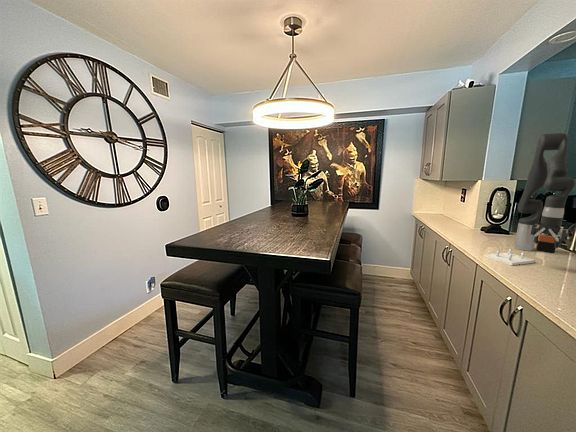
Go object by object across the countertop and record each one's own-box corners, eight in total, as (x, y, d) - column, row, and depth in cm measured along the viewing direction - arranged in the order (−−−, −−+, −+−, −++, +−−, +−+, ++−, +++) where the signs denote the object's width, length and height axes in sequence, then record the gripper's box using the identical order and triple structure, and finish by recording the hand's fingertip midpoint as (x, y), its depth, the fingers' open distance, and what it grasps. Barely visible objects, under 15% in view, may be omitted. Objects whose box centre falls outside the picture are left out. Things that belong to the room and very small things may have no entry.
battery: (554, 253, 126) (558, 235, 124) (536, 250, 131) (539, 233, 129) (553, 251, 129) (557, 233, 127) (535, 249, 134) (539, 231, 132)
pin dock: (507, 254, 150) (508, 246, 149) (534, 262, 137) (536, 254, 136) (485, 257, 146) (486, 249, 145) (511, 265, 132) (513, 256, 131)
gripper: (576, 218, 121) (568, 249, 124) (540, 213, 134) (534, 241, 137) (565, 218, 119) (558, 250, 122) (530, 213, 132) (525, 242, 135)
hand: (546, 245), depth 130 cm, fingers closed on battery, 8 cm apart
